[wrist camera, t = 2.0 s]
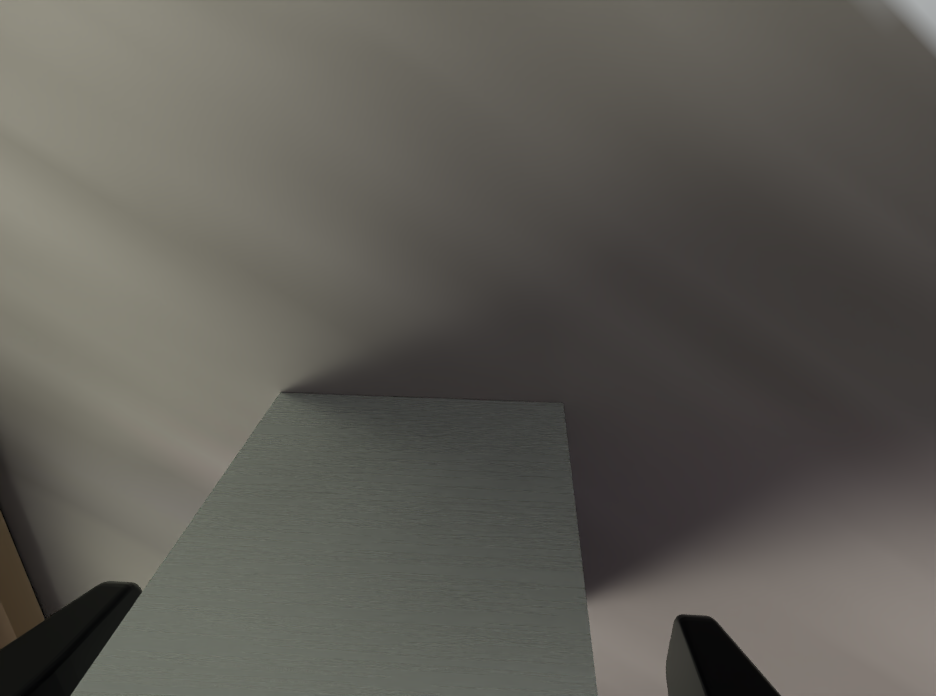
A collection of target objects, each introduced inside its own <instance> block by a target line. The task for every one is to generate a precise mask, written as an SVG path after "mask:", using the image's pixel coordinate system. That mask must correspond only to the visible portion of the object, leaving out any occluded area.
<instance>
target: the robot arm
mask: <svg viewBox="0 0 936 696" xmlns="http://www.w3.org/2000/svg"><path fill="white" fill-rule="evenodd" d="M141 593H142V590H141V588H140V587H139V586H138V585H137V584H136V583H132V582H115V581H108V582H104V583H101V584H99V585H97V586H96V587H94V588H93V589H91V590H90V591H88V592H87V593H85V594H83V595H82V596H80V597H79V598H77V599H76V600H74V601H73V602H71V603H70V604H68V605H67V606H65V607H64V608H62V609H61V610H59V611H58V612H56V613H55V614H53V615H52V616H50V617H49V618H47V619H46V620H44V621H43V622H41V623H39V624H38V625H36V626H35V627H33V628H32V629H30V630H29V631H27V632H26V633H24V634H23V635H21V636H20V637H18V638H17V639H15V640H14V641H12V642H11V643H9V644H8V645H6V646H5V647H3V648H2V649H0V696H71V694H72V693H73V691H74V690H75V688H76V687H77V685H78V684H79V683H80V681H81V680H82V678H83V677H84V675H85V674H86V672H87V671H88V670H89V668H90V667H91V665H92V664H93V662H94V661H95V659H96V658H97V657H98V655H99V654H100V652H101V651H102V649H103V648H104V646H105V645H106V644H107V642H108V641H109V639H110V638H111V636H112V635H113V633H114V632H115V631H116V629H117V628H118V626H119V625H120V623H121V622H122V620H123V619H124V618H125V616H126V615H127V613H128V612H129V610H130V609H131V607H132V606H133V605H134V603H135V602H136V600H137V599H138V597H139V596H140V594H141ZM666 680H667V688H668V695H669V696H781V695H780V694H779V693H778V692H777V691H776V689H775V688H774V687H773V686H772V685H771V684H770V682H769V681H768V680H767V679H766V678H765V677H764V676H763V674H762V673H761V672H760V671H759V670H758V669H757V667H756V666H755V665H754V664H753V663H752V662H751V661H750V659H749V658H748V657H747V656H746V655H745V654H744V653H743V651H742V650H741V649H740V648H739V647H738V646H737V644H736V643H735V642H734V641H733V640H732V639H731V638H730V636H729V635H728V634H727V633H726V632H725V631H724V629H723V628H722V627H721V626H720V625H719V624H718V623H717V622H716V621H715V620H714V619H713V618H711V617H709V616H702V615H685V614H681V615H678V616H677V617H676V619H675V620H674V624H673V629H672V634H671V639H670V644H669V649H668V655H667V660H666Z"/></svg>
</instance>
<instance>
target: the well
mask: <svg viewBox="0 0 936 696" xmlns="http://www.w3.org/2000/svg"><path fill="white" fill-rule="evenodd" d="M44 620H45V619H44V616H43V614H42V611H41V609H40V606H39V604H38V602H37V599H36V597H35V594H34V592H33V589H32V587H31V584H30V582H29V579H28V577H27V575H26V572H25V570H24V567H23V565H22V562H21V560H20V557H19V555H18V553H17V550H16V548H15V545H14V543H13V540H12V538H11V535H10V533H9V530H8V528H7V526H6V523H5V521H4V518H3V516H2V513H1V511H0V649H2V648H3V647H5V646H6V645H8V644H9V643H11V642H12V641H14V640H15V639H17V638H18V637H20V636H21V635H23V634H24V633H26V632H27V631H29V630H30V629H32V628H33V627H35V626H36V625H38V624H39V623H41V622H43V621H44Z"/></svg>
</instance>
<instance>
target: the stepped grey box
mask: <svg viewBox="0 0 936 696" xmlns="http://www.w3.org/2000/svg"><path fill="white" fill-rule="evenodd" d="M71 696H598V694H597V686H596V677H595V669H594V660H593V652H592V643H591V635H590V626H589V618H588V609H587V601H586V592H585V584H584V575H583V567H582V558H581V550H580V541H579V533H578V524H577V516H576V507H575V499H574V490H573V482H572V473H571V465H570V456H569V448H568V439H567V431H566V422H565V414H564V405H563V403H551V402H523V401H496V400H469V399H442V398H414V397H387V396H360V395H333V394H305V393H280V394H279V395H278V397H277V398H276V399H275V401H274V402H273V404H272V405H271V407H270V408H269V410H268V411H267V412H266V414H265V415H264V417H263V418H262V420H261V421H260V423H259V424H258V425H257V427H256V428H255V430H254V431H253V433H252V434H251V436H250V437H249V438H248V440H247V441H246V443H245V444H244V446H243V447H242V449H241V450H240V451H239V453H238V454H237V456H236V457H235V459H234V460H233V462H232V463H231V464H230V466H229V467H228V469H227V470H226V472H225V473H224V475H223V476H222V477H221V479H220V480H219V482H218V483H217V485H216V486H215V488H214V489H213V490H212V492H211V493H210V495H209V496H208V498H207V499H206V501H205V502H204V503H203V505H202V506H201V508H200V509H199V511H198V512H197V514H196V515H195V516H194V518H193V519H192V521H191V522H190V524H189V525H188V527H187V528H186V529H185V531H184V532H183V534H182V535H181V537H180V538H179V540H178V541H177V542H176V544H175V545H174V547H173V548H172V550H171V551H170V553H169V554H168V555H167V557H166V558H165V560H164V561H163V563H162V564H161V566H160V567H159V568H158V570H157V571H156V573H155V574H154V576H153V577H152V579H151V580H150V581H149V583H148V584H147V586H146V587H145V589H144V590H143V592H142V593H141V594H140V596H139V597H138V599H137V600H136V602H135V603H134V605H133V606H132V607H131V609H130V610H129V612H128V613H127V615H126V616H125V618H124V619H123V620H122V622H121V623H120V625H119V626H118V628H117V629H116V631H115V632H114V633H113V635H112V636H111V638H110V639H109V641H108V642H107V644H106V645H105V646H104V648H103V649H102V651H101V652H100V654H99V655H98V657H97V658H96V659H95V661H94V662H93V664H92V665H91V667H90V668H89V670H88V671H87V672H86V674H85V675H84V677H83V678H82V680H81V681H80V683H79V684H78V685H77V687H76V688H75V690H74V691H73V693H72V694H71Z"/></svg>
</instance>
